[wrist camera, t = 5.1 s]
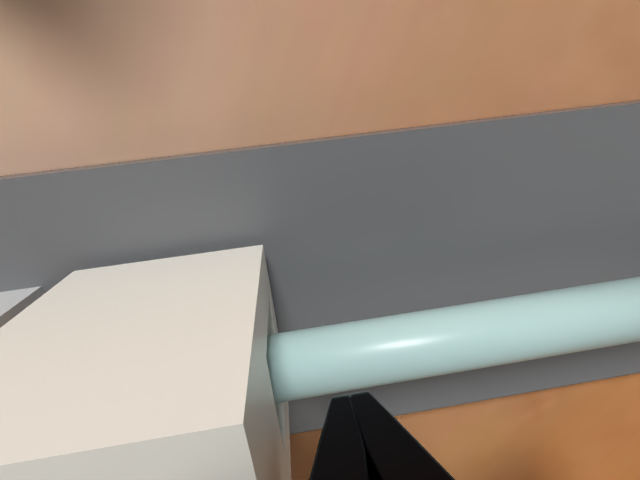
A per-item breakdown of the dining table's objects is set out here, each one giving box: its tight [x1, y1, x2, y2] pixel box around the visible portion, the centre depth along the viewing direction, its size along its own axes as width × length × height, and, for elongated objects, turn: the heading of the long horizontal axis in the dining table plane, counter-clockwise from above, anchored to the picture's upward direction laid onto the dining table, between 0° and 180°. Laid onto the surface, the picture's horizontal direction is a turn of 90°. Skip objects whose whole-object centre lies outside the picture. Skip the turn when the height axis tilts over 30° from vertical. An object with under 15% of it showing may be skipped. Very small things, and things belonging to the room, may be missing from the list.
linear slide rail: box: [0, 100, 640, 434], centre depth 10 cm, size 26×10×6 cm, turn 96°
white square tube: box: [0, 245, 291, 480], centre depth 8 cm, size 5×5×6 cm
